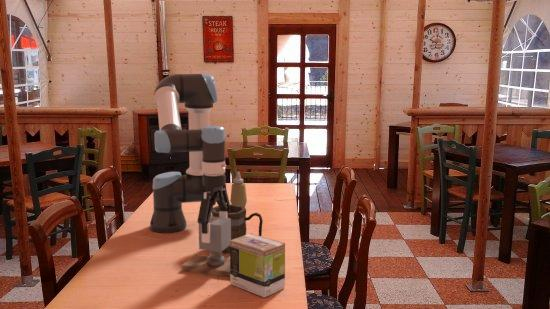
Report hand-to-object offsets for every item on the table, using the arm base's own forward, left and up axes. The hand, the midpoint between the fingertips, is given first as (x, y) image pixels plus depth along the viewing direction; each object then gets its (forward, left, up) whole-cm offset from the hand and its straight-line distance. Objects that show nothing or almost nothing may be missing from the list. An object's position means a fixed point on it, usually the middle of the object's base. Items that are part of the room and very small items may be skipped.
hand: (215, 235), depth 166 cm
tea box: (+18, -8, -12) cm, 23 cm away
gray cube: (0, 0, -4) cm, 4 cm away
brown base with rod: (0, 0, -12) cm, 12 cm away
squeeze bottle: (-21, +71, -12) cm, 75 cm away
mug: (-1, +21, -12) cm, 24 cm away
